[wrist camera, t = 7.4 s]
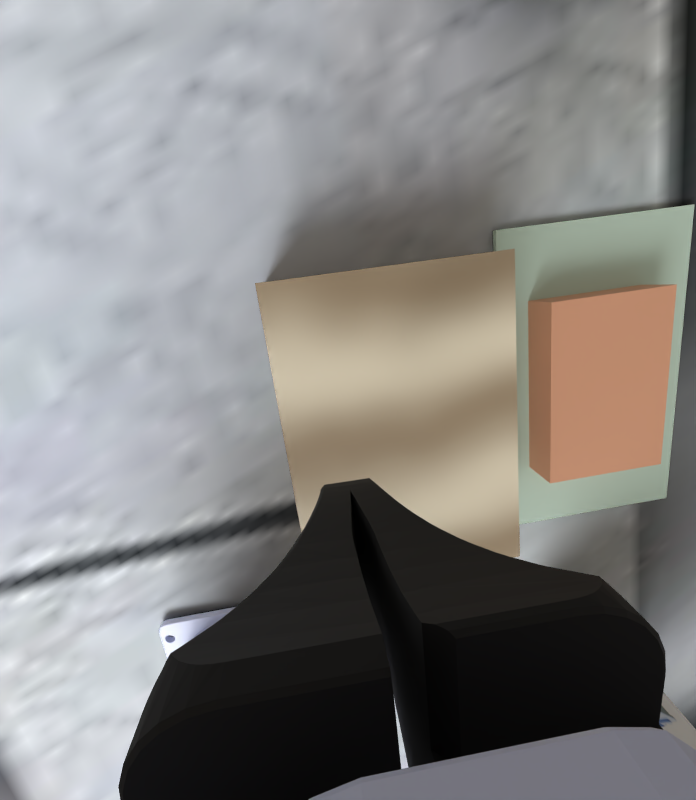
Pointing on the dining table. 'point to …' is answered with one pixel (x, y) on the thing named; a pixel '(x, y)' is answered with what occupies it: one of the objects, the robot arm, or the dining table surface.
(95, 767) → the dining table surface
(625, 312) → the block
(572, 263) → the mat
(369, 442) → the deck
